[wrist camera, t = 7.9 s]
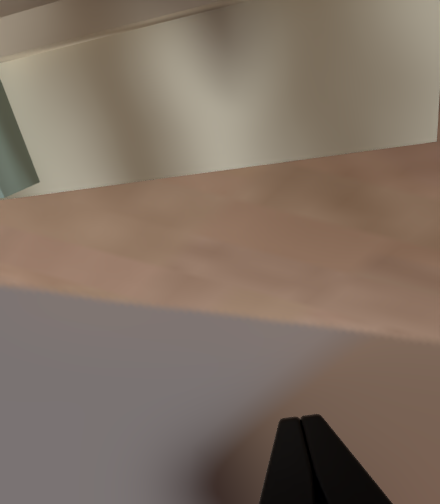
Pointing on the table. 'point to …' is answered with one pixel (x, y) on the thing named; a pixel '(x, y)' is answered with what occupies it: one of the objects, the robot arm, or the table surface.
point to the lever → (207, 86)
